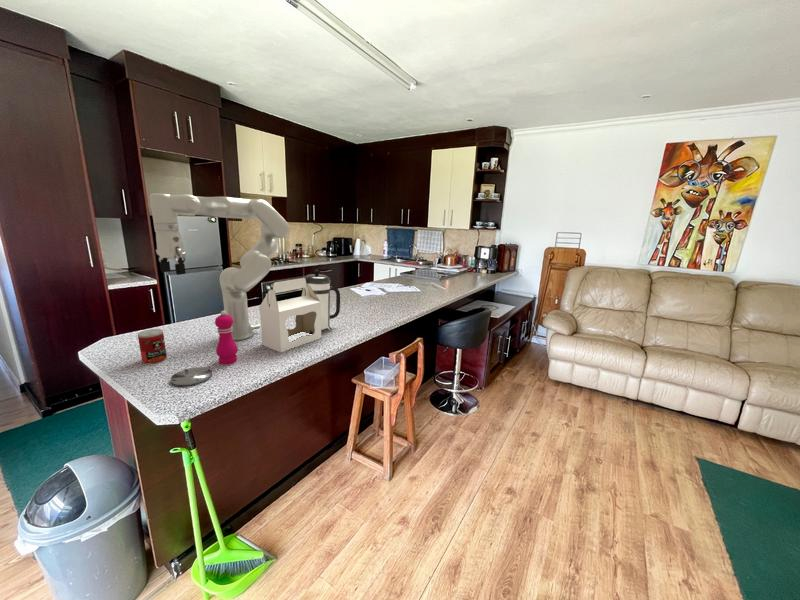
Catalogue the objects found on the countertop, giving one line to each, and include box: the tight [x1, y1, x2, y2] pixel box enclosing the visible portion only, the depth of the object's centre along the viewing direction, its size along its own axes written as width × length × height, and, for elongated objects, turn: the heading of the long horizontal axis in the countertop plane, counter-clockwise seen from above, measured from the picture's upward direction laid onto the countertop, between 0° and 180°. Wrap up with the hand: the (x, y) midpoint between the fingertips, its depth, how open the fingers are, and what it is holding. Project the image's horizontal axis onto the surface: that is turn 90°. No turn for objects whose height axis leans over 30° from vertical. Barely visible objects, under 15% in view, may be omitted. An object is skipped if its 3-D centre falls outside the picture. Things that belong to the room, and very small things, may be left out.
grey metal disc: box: [170, 366, 213, 388], centre depth 113 cm, size 12×12×2 cm
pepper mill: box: [214, 310, 239, 366], centre depth 124 cm, size 7×7×20 cm
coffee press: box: [303, 269, 341, 334], centre depth 161 cm, size 17×16×30 cm
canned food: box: [137, 328, 168, 365], centre depth 125 cm, size 8×8×11 cm
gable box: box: [259, 277, 322, 353], centre depth 145 cm, size 22×13×28 cm, turn 145°
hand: (173, 273), depth 129 cm, fingers open, 9 cm apart
